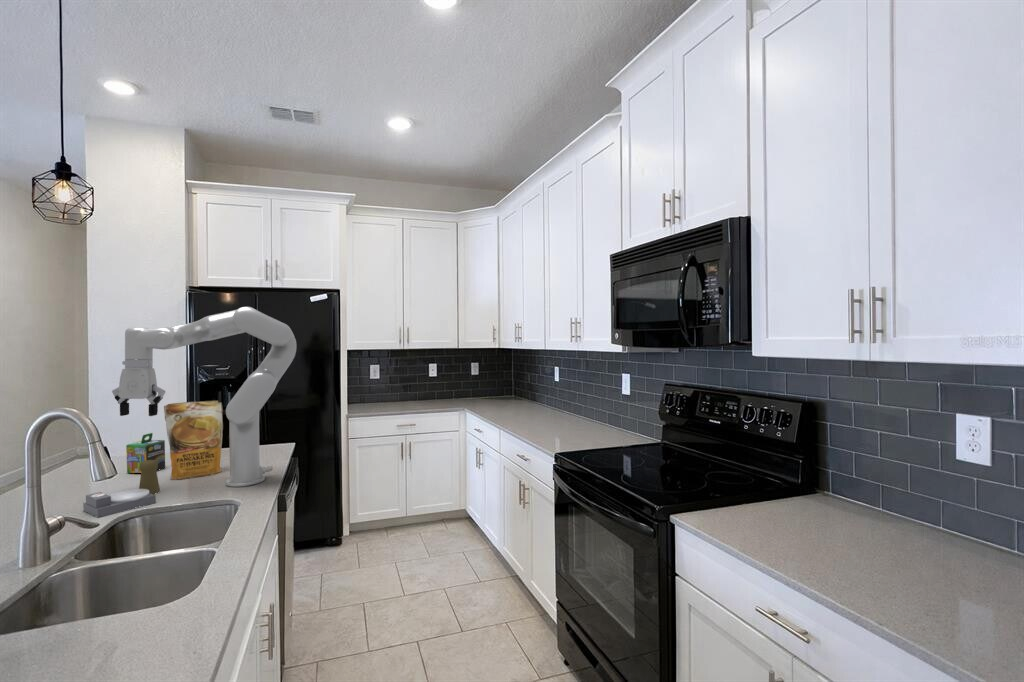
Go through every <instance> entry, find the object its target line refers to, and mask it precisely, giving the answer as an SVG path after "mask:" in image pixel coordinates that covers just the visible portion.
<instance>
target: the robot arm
mask: <svg viewBox="0 0 1024 682" xmlns="http://www.w3.org/2000/svg"><path fill="white" fill-rule="evenodd" d="M244 333H247V334H248V335H251V336H252V337H255V338H256V339H259V340H261V341H263V342H266V343H268V344H270V345H271V348H270V350H269V352H267V355H265V357H264V359H263V360H262V362H261V363H260V364H259V366H258V367H256V369H255V370H254V371H252V373H251V374H249V376H248V377H247V378H246V380H245V381H244V382H243V383H242V385H241V386H240V387H239V388H238V390H237V392H236V393H235V394H234V396H233V397H232V398H231V399H230V401H229V402H228V403H227V405H226V408H225V415H226V416H225V417H226V418H227V419H228V421H229V422H228V423H229V425H228V426H229V429H228V430H229V431H228V432H229V435H228V439H229V440H228V441H229V443H228V444H229V475H230V476H229V478H227V479H226V480H224V481H225V483H224V484H225V486H227V487H233V488H235V487H237V488H238V487H247V486H253V485H256V484H259V483H262V482H264V481H265V479H266V477H265V475H264V474H265V473H269V472H273V470H274V468H273V465H269V466H260V464H261V463H260V462H261V459H260V411H261V410H262V409H263V407H264V406H265V404H266V403H267V402H268V401H269V398H270V397H271V395H273V393H274V391H275V389H276V387H277V385H278V383H279V381H280V380H281V379H282V377H283V375H284V374H285V373H286V371H287V370H288V368H289V367H290V366H291V364H292V362H293V361H294V359H295V357H296V353H297V340H296V338H295V337H296V336H295V335H294V333H293V331H292V329H291V328H290V326H289V325H288V324H286V323H284V322H281V321H280V320H278V319H275V318H274V317H271V316H269V315H267V314H265V313H263V312H261V311H259V310H258V309H255V308H253V307H251V306H242V307H239V308H238V309H234V310H230V311H225V312H220V313H215V314H211V315H207V316H204V317H203V318H201V319H199V320H196V321H192V322H189V323H186V324H181V325H176V326H172V327H169V326H167V327H153V328H149V327H129V328H128V327H127V328H126V329H125V333H124V360H123V361H122V363H121V364H122V365H123V366H124V368H122V369H121V373H120V376H119V377H120V378H119V383H118V384H119V386H118V387H116V388H114V389H113V390H112V391H111V393H112V394H113V397H114V399H115V400H116V401H117V404H119V416H120V417H123V416H128V415H130V403H129V400H131V399H132V400H143V399H146V400H147V401H148V402H149V404H148V416H149V417H154V416H157V415H158V411H159V409H158V408H159V407H158V406H159V403H161V401H162V400H163V398H164V396H165V394H166V390H165V389H163V388H161V387H159V386H158V383H157V382H158V380H157V375H156V370H155V368H153V367H154V365H153V363H154V359H153V358H154V357H153V355H154V353H153V352H154V350H153V349H156V350H163V351H165V350H172V349H173V350H174V349H178V348H181V347H185V346H189V345H194V344H198V343H202V342H206V341H207V342H208V341H215V340H219V339H222V338H226V337H231V336H235V335H238V334H244Z"/></svg>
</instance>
